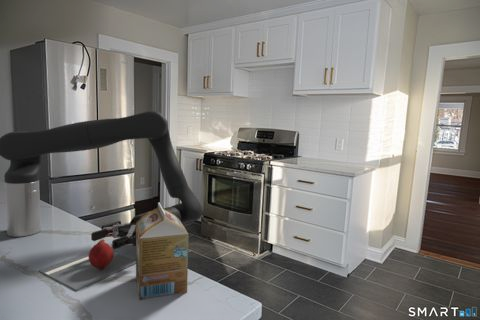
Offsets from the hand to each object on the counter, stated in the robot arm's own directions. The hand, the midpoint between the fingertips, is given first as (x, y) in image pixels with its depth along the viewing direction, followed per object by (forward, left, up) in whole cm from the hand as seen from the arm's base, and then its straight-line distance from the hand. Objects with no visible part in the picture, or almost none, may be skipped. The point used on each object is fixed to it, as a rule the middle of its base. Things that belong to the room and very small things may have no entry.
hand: (102, 241), depth 80 cm
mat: (-4, 0, -8) cm, 9 cm away
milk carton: (+17, +4, -8) cm, 19 cm away
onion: (0, 0, -8) cm, 8 cm away
